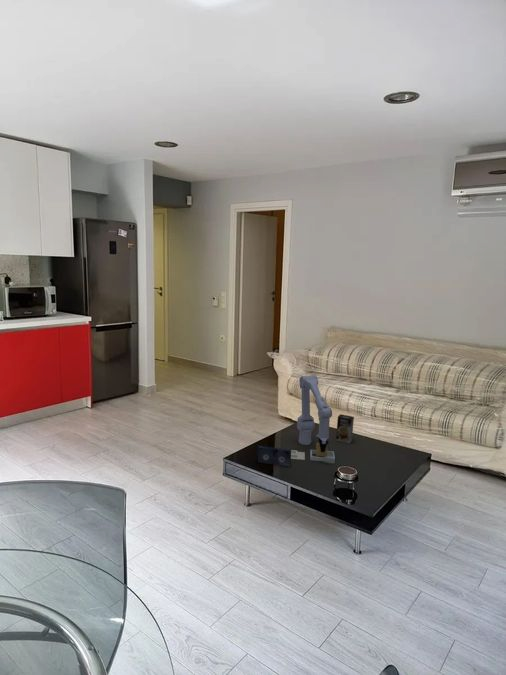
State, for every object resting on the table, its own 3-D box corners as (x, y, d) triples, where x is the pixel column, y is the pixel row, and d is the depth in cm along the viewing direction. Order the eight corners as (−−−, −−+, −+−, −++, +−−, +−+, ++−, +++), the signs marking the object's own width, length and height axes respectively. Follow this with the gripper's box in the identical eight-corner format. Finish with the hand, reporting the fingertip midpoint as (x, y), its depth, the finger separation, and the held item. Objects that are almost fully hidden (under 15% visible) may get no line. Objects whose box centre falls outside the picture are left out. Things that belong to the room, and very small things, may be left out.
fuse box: (274, 451, 268) (274, 447, 268) (304, 453, 266) (304, 449, 266) (273, 458, 258) (273, 454, 258) (304, 461, 257) (304, 457, 256)
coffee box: (335, 440, 287) (337, 416, 285) (338, 437, 293) (340, 413, 290) (349, 443, 283) (351, 419, 281) (352, 440, 289) (354, 416, 286)
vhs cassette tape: (290, 466, 250) (291, 449, 248) (289, 469, 247) (290, 451, 245) (258, 461, 254) (259, 445, 253) (257, 464, 252) (257, 447, 250)
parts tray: (310, 454, 266) (310, 449, 265) (333, 456, 265) (333, 451, 264) (310, 461, 256) (310, 456, 256) (334, 463, 255) (334, 458, 254)
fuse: (316, 453, 262) (316, 442, 261) (326, 454, 261) (327, 443, 260) (316, 455, 259) (316, 444, 258) (326, 456, 258) (327, 445, 257)
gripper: (316, 423, 265) (315, 445, 267) (317, 432, 251) (315, 455, 253) (328, 424, 264) (327, 446, 266) (330, 433, 250) (328, 456, 252)
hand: (322, 450), depth 259 cm, fingers closed on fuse, 3 cm apart
